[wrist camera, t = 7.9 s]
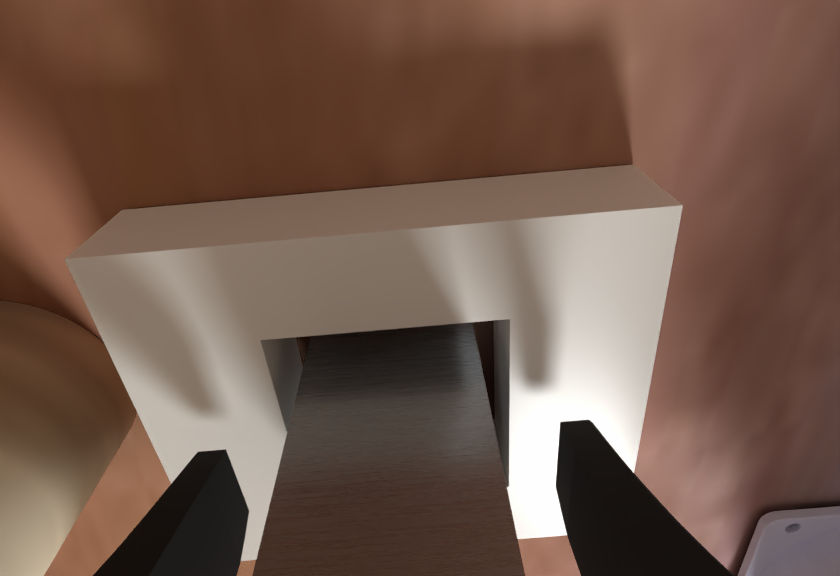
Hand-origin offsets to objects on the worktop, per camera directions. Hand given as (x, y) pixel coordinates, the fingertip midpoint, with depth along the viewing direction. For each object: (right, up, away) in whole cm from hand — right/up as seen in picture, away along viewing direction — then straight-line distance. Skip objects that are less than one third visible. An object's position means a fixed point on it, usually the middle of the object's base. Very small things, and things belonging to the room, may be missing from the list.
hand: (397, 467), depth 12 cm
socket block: (0, +2, +3) cm, 4 cm away
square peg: (0, +2, +4) cm, 4 cm away
